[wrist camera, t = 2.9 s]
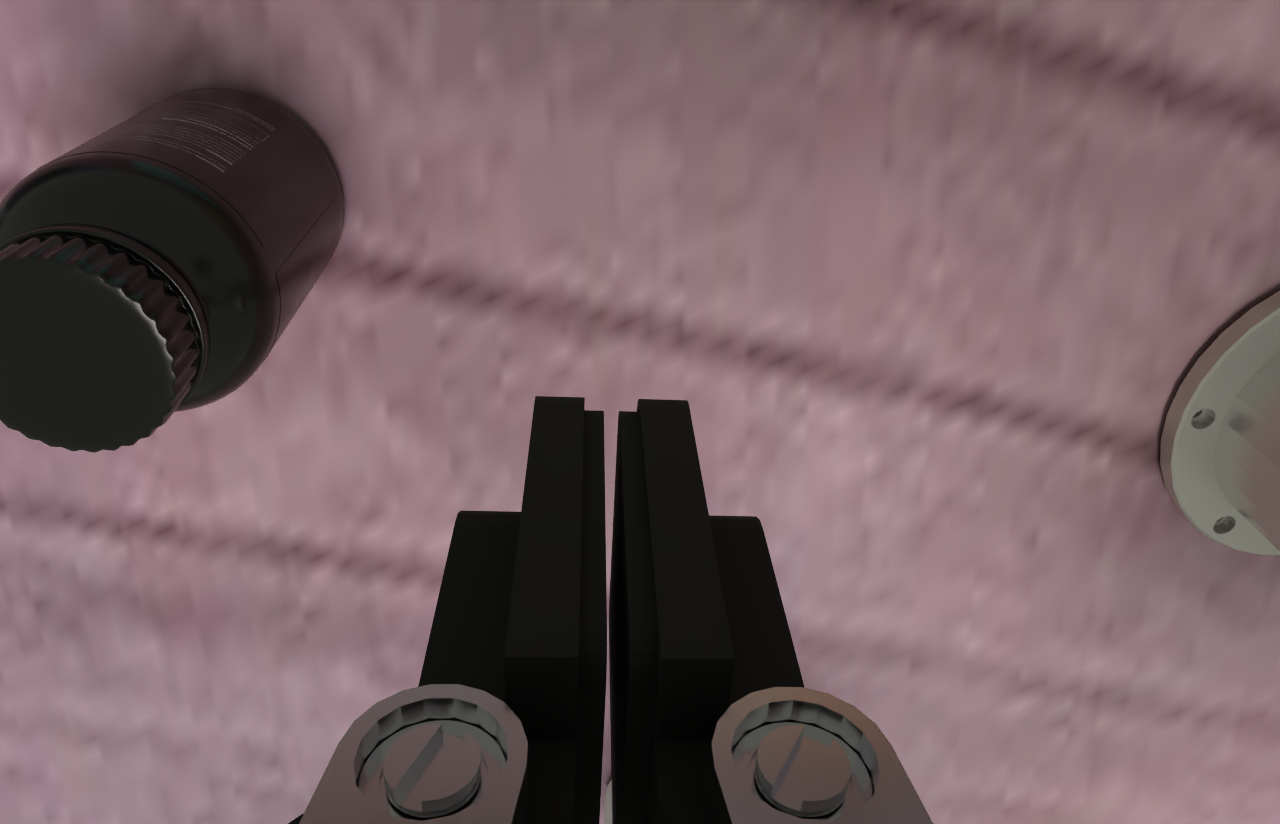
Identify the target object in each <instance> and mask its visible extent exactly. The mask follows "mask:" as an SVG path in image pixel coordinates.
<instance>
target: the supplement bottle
mask: <svg viewBox="0 0 1280 824" xmlns="http://www.w3.org/2000/svg"><path fill="white" fill-rule="evenodd" d="M343 218H344V206H343V197H342V192H341V187H340V183H339V180H338V177H337V174H336V172H335V169H334V167H333V165H332V163H331V161H330V159H329V157H328V155H327V154H326V152H325V151H324V149H323V148H322V146H321V145H320V144H319V142H318V141H317V140H316V138H315V137H314V136H313V135H312V134H311V133H310V132H309V131H308V130H307V129H306V128H305V127H304V126H303V125H302V124H301V123H300V122H299V121H298V120H296V119H295V118H294V117H292V116H291V115H290V114H288V113H287V112H285V111H284V110H282V109H281V108H279V107H277V106H276V105H274V104H272V103H270V102H268V101H266V100H263V99H261V98H259V97H256V96H253V95H250V94H247V93H243V92H238V91H233V90H227V89H199V90H193V91H189V92H185V93H181V94H178V95H175V96H173V97H170V98H168V99H166V100H164V101H162V102H160V103H157V104H155V105H153V106H152V107H150V108H148V109H146V110H144V111H142V112H140V113H139V114H137V115H135V116H133V117H131V118H129V119H128V120H126V121H124V122H122V123H120V124H118V125H117V126H115V127H113V128H111V129H109V130H107V131H106V132H104V133H102V134H100V135H98V136H96V137H95V138H93V139H91V140H89V141H87V142H85V143H84V144H82V145H80V146H78V147H76V148H74V149H72V150H71V151H69V152H67V153H65V154H63V155H61V156H60V157H58V158H56V159H54V160H52V161H51V162H49V163H47V164H45V165H43V166H41V167H40V168H38V169H37V170H35V171H34V172H32V173H31V174H30V175H28V176H27V177H25V178H24V179H23V180H21V181H20V182H19V183H18V184H17V185H16V186H14V187H13V188H12V189H11V190H10V191H9V193H8V194H7V195H6V196H5V198H4V199H3V200H2V202H1V203H0V420H1V421H2V422H3V423H4V424H5V425H6V426H7V427H8V428H11V429H13V430H17V431H20V432H21V433H22V434H23V435H25V436H26V437H28V438H29V439H34V440H40V441H42V442H44V443H45V444H47V445H49V446H52V447H63V448H66V449H68V450H71V451H78V450H85V451H89V452H97V451H100V450H102V449H104V450H116V449H118V448H119V447H120V446H129V445H134V444H135V443H136V442H137V441H138V440H139V439H141V438H146V437H149V436H150V435H152V434H153V433H154V432H155V430H156V429H157V428H158V427H159V426H161V425H163V424H164V423H165V422H166V421H167V420H168V419H169V418H170V416H171V415H172V414H173V412H177V411H184V410H190V409H194V408H198V407H201V406H204V405H207V404H210V403H213V402H215V401H217V400H219V399H221V398H223V397H225V396H227V395H228V394H230V393H232V392H233V391H235V390H236V389H238V388H239V387H240V386H241V385H243V384H244V383H245V382H246V381H247V380H248V379H249V378H250V377H251V376H252V375H253V374H254V373H255V371H256V370H257V369H258V368H259V366H260V365H261V364H262V363H263V361H264V360H265V359H266V357H267V356H268V354H269V353H270V351H271V350H272V348H273V347H274V345H275V344H276V342H277V341H278V339H279V338H280V336H281V335H282V333H283V331H284V330H285V328H286V327H287V325H288V324H289V322H290V321H291V319H292V318H293V316H294V315H295V313H296V312H297V310H298V309H299V307H300V306H301V304H302V303H303V301H304V300H305V298H306V296H307V295H308V293H309V292H310V290H311V289H312V287H313V286H314V284H315V283H316V281H317V280H318V278H319V277H320V275H321V274H322V272H323V270H324V269H325V267H326V266H327V264H328V262H329V260H330V259H331V257H332V255H333V253H334V251H335V249H336V247H337V245H338V242H339V239H340V236H341V231H342V227H343Z"/></svg>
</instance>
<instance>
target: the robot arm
mask: <svg viewBox="0 0 1280 824" xmlns="http://www.w3.org/2000/svg"><path fill="white" fill-rule="evenodd" d="M1160 466H1161V470H1162V475H1163V479H1164V483H1165V487H1166V489H1167V491H1168V493H1169V495H1170V496H1171V498H1172V500H1173V502H1174V504H1175V506H1176V507H1177V508H1178V509H1179V510H1180V511H1181V512H1182V513H1183V514H1184V516H1185V517H1186V518H1187V519H1188V520H1189V521H1190V522H1191V523H1192V525H1193V526H1194V527H1195V528H1197V529H1198V530H1199V531H1200V532H1201V533H1203V534H1204V535H1205V536H1206V537H1208V538H1209V539H1211V540H1212V541H1215V542H1217V543H1219V544H1222V545H1224V546H1226V547H1228V548H1231V549H1233V550H1236V551H1241V552H1246V553H1251V554H1255V555H1267V556H1280V291H1278V292H1276V293H1275V294H1273V295H1272V296H1270V297H1269V298H1267V299H1265V300H1264V301H1262V302H1261V303H1259V304H1257V305H1256V306H1254V307H1253V308H1251V309H1250V310H1249V311H1247V312H1246V313H1245V314H1244V315H1243V316H1241V317H1240V318H1239V319H1238V320H1237V321H1235V322H1234V323H1233V324H1232V325H1230V326H1229V327H1228V328H1227V329H1226V330H1224V331H1223V332H1222V333H1221V334H1220V335H1219V336H1218V338H1217V339H1216V340H1215V341H1214V342H1213V343H1212V344H1211V345H1210V346H1209V347H1208V348H1207V350H1206V351H1205V352H1204V353H1203V354H1202V355H1201V356H1200V357H1199V358H1198V360H1197V361H1196V363H1195V364H1194V366H1193V367H1192V369H1191V370H1190V372H1189V373H1188V375H1187V376H1186V378H1185V379H1184V381H1183V382H1182V384H1181V385H1180V387H1179V389H1178V391H1177V393H1176V396H1175V398H1174V400H1173V402H1172V404H1171V406H1170V409H1169V411H1168V413H1167V417H1166V421H1165V425H1164V429H1163V433H1162V437H1161V453H1160ZM609 659H610V717H611V775H612V824H933V823H932V821H931V819H930V817H929V815H928V813H927V811H926V809H925V807H924V806H923V804H922V802H921V800H920V798H919V796H918V794H917V792H916V791H915V789H914V787H913V785H912V783H911V781H910V779H909V777H908V775H907V774H906V772H905V770H904V768H903V766H902V764H901V762H900V760H899V758H898V757H897V755H896V753H895V751H894V749H893V747H892V745H891V744H890V742H889V741H888V740H887V738H886V737H885V736H884V734H883V733H882V732H881V730H880V729H879V727H878V726H877V725H876V724H875V723H874V722H873V721H872V720H871V719H869V718H868V717H867V716H866V715H864V714H863V713H862V712H861V711H859V710H858V709H857V708H856V707H855V706H853V705H851V704H849V703H847V702H845V701H843V700H841V699H839V698H836V697H834V696H832V695H830V694H828V693H824V692H820V691H815V690H811V689H807V688H804V684H803V680H802V676H801V673H800V669H799V665H798V661H797V657H796V653H795V650H794V646H793V642H792V638H791V634H790V631H789V627H788V623H787V619H786V615H785V611H784V608H783V604H782V600H781V596H780V592H779V589H778V585H777V581H776V577H775V573H774V570H773V566H772V562H771V558H770V554H769V550H768V547H767V543H766V539H765V535H764V531H763V528H762V525H761V522H760V520H759V519H758V518H757V517H751V516H709V514H708V509H707V503H706V497H705V492H704V486H703V481H702V475H701V470H700V464H699V459H698V453H697V448H696V442H695V437H694V431H693V426H692V420H691V414H690V409H689V404H688V401H686V400H652V399H639V400H638V405H637V412H623V411H619V417H618V435H617V456H616V477H615V497H614V518H613V539H612V559H611V580H610V601H609ZM606 665H607V608H606V539H605V469H604V411H586V410H584V398H579V397H543V396H536V397H535V404H534V412H533V420H532V428H531V437H530V445H529V453H528V462H527V470H526V478H525V486H524V495H523V503H522V511H521V512H498V511H460V512H459V513H458V515H457V518H456V521H455V526H454V530H453V535H452V539H451V544H450V548H449V552H448V557H447V561H446V566H445V570H444V575H443V579H442V584H441V588H440V593H439V597H438V602H437V606H436V611H435V615H434V619H433V624H432V628H431V633H430V637H429V642H428V646H427V651H426V655H425V660H424V664H423V669H422V673H421V677H420V682H419V686H418V687H416V688H411V689H407V690H403V691H401V692H398V693H396V694H394V695H392V696H390V697H388V698H386V699H384V700H382V701H380V702H377V703H376V704H375V705H373V706H372V707H371V708H370V709H368V710H367V711H366V712H365V713H363V714H362V715H361V716H360V717H359V718H357V719H356V720H355V721H354V722H353V724H352V725H351V726H350V728H349V729H348V731H347V732H346V734H345V735H344V736H343V738H342V739H341V741H340V742H339V744H338V746H337V748H336V750H335V752H334V754H333V756H332V758H331V760H330V762H329V764H328V766H327V768H326V770H325V772H324V774H323V776H322V778H321V780H320V782H319V784H318V786H317V788H316V790H315V792H314V794H313V796H312V798H311V800H310V802H309V804H308V806H307V808H306V810H305V812H304V813H303V814H302V815H300V816H299V817H297V818H296V819H294V820H293V821H291V822H290V823H289V824H599V816H600V796H601V775H602V755H603V734H604V714H605V693H606Z"/></svg>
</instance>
